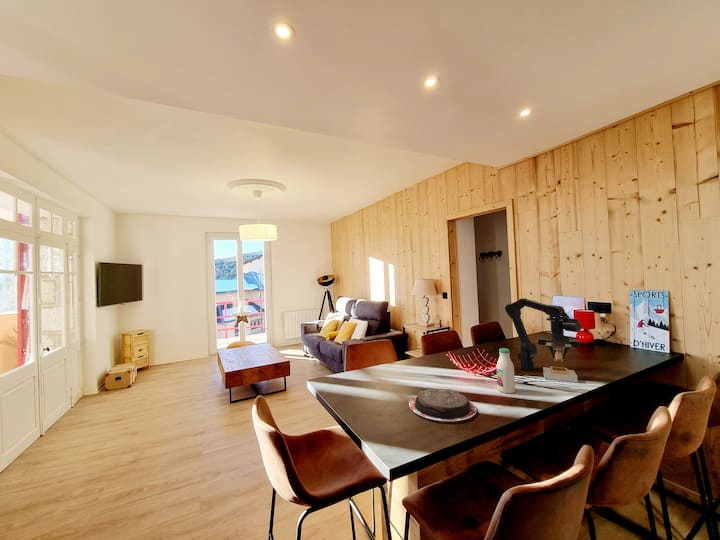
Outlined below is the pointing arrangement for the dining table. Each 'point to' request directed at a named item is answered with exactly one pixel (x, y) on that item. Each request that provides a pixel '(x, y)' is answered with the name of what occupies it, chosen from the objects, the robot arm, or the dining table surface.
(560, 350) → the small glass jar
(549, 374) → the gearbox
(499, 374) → the milk bottle
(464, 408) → the chocolate cake
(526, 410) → the dining table surface
